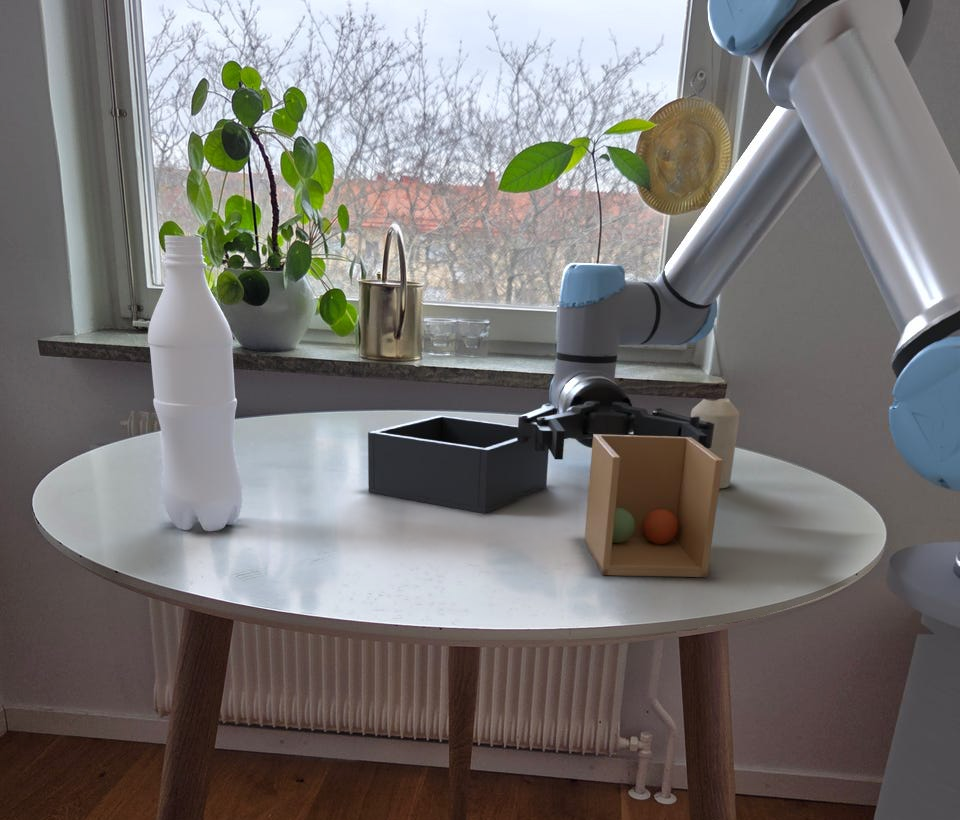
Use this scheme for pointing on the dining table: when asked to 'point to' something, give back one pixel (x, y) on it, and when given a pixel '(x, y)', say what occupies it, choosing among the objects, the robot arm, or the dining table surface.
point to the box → (652, 503)
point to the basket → (455, 463)
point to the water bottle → (194, 393)
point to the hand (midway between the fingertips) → (630, 447)
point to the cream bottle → (721, 431)
